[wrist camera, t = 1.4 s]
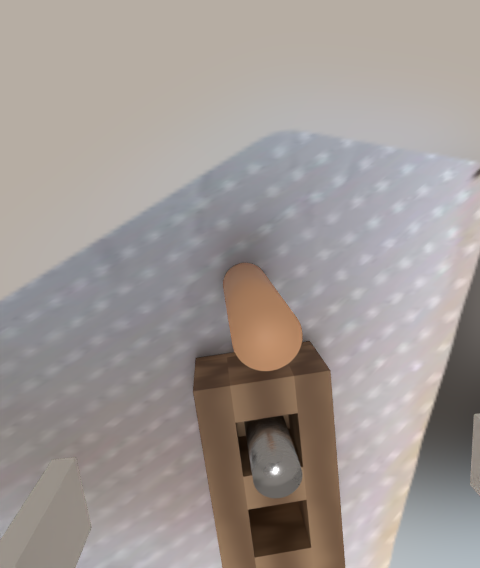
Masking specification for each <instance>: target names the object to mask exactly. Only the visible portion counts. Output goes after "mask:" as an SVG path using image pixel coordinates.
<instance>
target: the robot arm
mask: <svg viewBox="0 0 480 568" xmlns="http://www.w3.org/2000/svg"><path fill="white" fill-rule="evenodd" d="M470 485H471V486H472V487H473V489H474V490H475V491H476V492H477V493H478V494H479V496H480V414H474V425H473V443H472V462H471V481H470ZM90 530H91V523H90V518H89V514H88V509H87V505H86V500H85V496H84V491H83V487H82V482H81V478H80V473H79V468H78V464H77V459H76V457H74V458H64V459H55V460H52V461H51V463H50V464H49V466H48V467H47V469H46V470H45V472H44V473H43V475H42V476H41V478H40V480H39V481H38V483H37V484H36V486H35V487H34V489H33V490H32V492H31V493H30V495H29V497H28V498H27V500H26V501H25V503H24V504H23V506H22V507H21V509H20V511H19V512H18V514H17V515H16V517H15V518H14V520H13V521H12V523H11V524H10V526H9V528H8V529H7V531H6V532H5V534H4V535H3V537H2V538H1V540H0V568H75V567H76V565H77V562H78V560H79V557H80V555H81V552H82V550H83V547H84V545H85V542H86V540H87V537H88V535H89V532H90Z"/></svg>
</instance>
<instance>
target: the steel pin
mask: <svg viewBox="0 0 480 568" xmlns="http://www.w3.org/2000/svg"><path fill="white" fill-rule="evenodd" d="M244 426H245V432H246V438H247V445H248V451H249V458H250V464H251V471H252V477H253V483H254V486H255V488H256V489H257V491H258V492H259V493H261V494H262V495H264V496H266V497H269V498H282V497H286V496H288V495H290V494H292V493H293V492H294V491H295V490H296V489H297V488H298V487H299V485H300V483H301V481H302V469H301V466H300V463H299V460H298V457H297V454H296V451H295V448H294V445H293V442H292V440H291V437H290V434H289V431H288V428H287V425H286V422H285V419H284V416H283V415H282V416H276V417H269V418H263V419H256V420H250V421H244Z"/></svg>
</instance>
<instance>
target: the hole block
mask: <svg viewBox="0 0 480 568" xmlns="http://www.w3.org/2000/svg"><path fill="white" fill-rule="evenodd" d="M193 394H194V400H195V406H196V412H197V418H198V424H199V430H200V436H201V442H202V448H203V454H204V460H205V466H206V472H207V478H208V484H209V490H210V496H211V502H212V507H213V513H214V519H215V525H216V531H217V537H218V543H219V549H220V555H221V561H222V567H223V568H345V558H344V544H343V531H342V518H341V505H340V492H339V478H338V465H337V452H336V439H335V426H334V412H333V399H332V386H331V373H330V369H329V368H328V366H327V365H326V364H325V362H324V361H323V359H322V358H321V357H320V355H319V354H318V352H317V351H316V349H315V348H314V347H313V345H312V344H311V342H310V341H307V342H302V344H301V347H300V350H299V352H298V353H297V355H296V356H295V358H294V359H293V360H292V361H291V362H290V363H288V364H287V365H285V366H284V367H282V368H279V369H277V370H272V371H259V370H255V369H252V368H250V367H248V366H246V365H245V364H244V363H242V362H241V361H240V360H239V358H238V357H237V356H236V354H235V352H233V353H226V354H219V355H213V356H206V357H199V358H196V361H195V373H194V386H193ZM282 415H283V416H284V419H285V422H286V425H287V428H288V431H289V434H290V437H291V440H292V442H293V445H294V448H295V451H296V454H297V457H298V460H299V463H300V466H301V469H302V481H301V483H300V485H299V487H298V488H297V489H296V490H295V491H294V492H293V493H292V494H290V495H288V496H286V497H282V498H269V497H266V496H264V495H262V494H261V493H259V492H258V491H257V489H256V488H255V486H254V483H253V477H252V471H251V464H250V458H249V451H248V445H247V438H246V432H245V426H244V421H250V420H256V419H263V418H269V417H276V416H282Z"/></svg>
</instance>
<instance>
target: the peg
mask: <svg viewBox="0 0 480 568" xmlns="http://www.w3.org/2000/svg"><path fill="white" fill-rule="evenodd" d="M223 289H224V296H225V302H226V308H227V314H228V321H229V327H230V333H231V339H232V345H233V349H234V352H235V354H236V356H237V357H238V358H239V360H240V361H241V362H242V363H244V364H245V365H246V366H248V367H250V368H252V369H255V370H259V371H272V370H277V369H279V368H282V367H284V366H285V365H287V364H288V363H290V362H291V361H292V360H293V359H294V358H295V356H296V355H297V353H298V352H299V350H300V347H301V344H302V328H301V325H300V323H299V321H298V319H297V317H296V316H295V315H294V313H293V312H292V311H291V309H290V308H289V306H288V305H287V304H286V302H285V301H284V300H283V298H282V297H281V296H280V294H279V293H278V291H277V290H276V289H275V287H274V286H273V285H272V283H271V282H270V281H269V279H268V278H267V276H266V275H265V274H264V272H263V271H262V270H261V269H260V268H259V267H258V266H256V265H254V264H251V263H240V264H237V265H235V266H233V267H232V268H230V269H229V270H228V272H227V273H226V275H225V277H224V280H223Z"/></svg>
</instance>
